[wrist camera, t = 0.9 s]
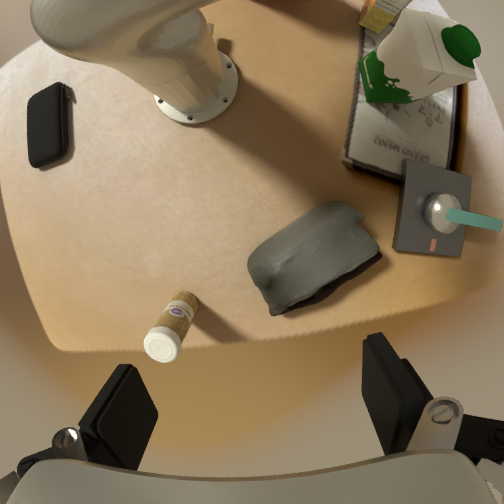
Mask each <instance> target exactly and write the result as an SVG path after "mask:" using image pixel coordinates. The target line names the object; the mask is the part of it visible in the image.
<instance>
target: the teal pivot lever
mask: <svg viewBox="0 0 504 504" xmlns="http://www.w3.org/2000/svg"><path fill="white" fill-rule="evenodd" d="M424 215H425V220H426V222H427V224H428V225H429V227H431V228H432V229H434V230H437V231H439V232H442V233H445V234H448V233H451V232H453V231H454V230H456V228H457V227H458V226H459V224H465V225H470V226H475V227H480V228H485V229H490V230H495V231H499V232H501V228H502V222H503V220H500V219H496V218H493V217H489V216H485V215H480V214H476V213H472V212H468V211H463V210H462V209H461V205H460V203H459V201H458V199H457V198H456V197H455V196H453V195H450V194H444V193H435V194H433V195H432V196H430V197H429V199H428V200H427V202H426V205H425V210H424Z"/></svg>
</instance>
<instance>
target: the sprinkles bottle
mask: <svg viewBox="0 0 504 504" xmlns="http://www.w3.org/2000/svg"><path fill="white" fill-rule="evenodd" d="M198 308H199V305H198V301H197V299H196V298H195V297H194V296H193V295H192V294H190V293H188V292H179V293H177V294H176V295H174V297H173V298H172V301H171V302H170V303H169V304H168V306H167V307H166V309H165V310H164V312H163V313H162V315H161V316H160V318H159V319H158V321H157V323H156V325H155V326H154V328H152V329H151V330H150V331H149V333H148V334H147V336H146V337H145V340H144V348H145V350H146V352H147V354H148V355H149V356H150V357H151V358H153V359H154V360H156V361H159V362H163V363H167V362H171V361H173V360H174V359H175V358H176V357H177V355H178V353H179V351H180V349H181V344H182V342H183V339H184V338H185V336H186V334H187V332H188V330H189V328H190V325H191V323H192V321H193V317H194V315H195V314H196V313H197V311H198Z"/></svg>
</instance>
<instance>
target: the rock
mask: <svg viewBox="0 0 504 504" xmlns="http://www.w3.org/2000/svg"><path fill="white" fill-rule="evenodd" d="M363 218H364V216H363V215H362V214H361V213H359V212H358V211H357V210H355V209H354V208H353V207H352V206H350V205H349V204H347V203H344V202H340V201H335V202H329V203H326V204H323V205H320V206H318V207H316V208H314V209H312V210H310V211H309V212H307V213H305V214H304V215H302V216H301V217H299V218H298V219H296V220H295V221H293V222H292V223H291V224H289V225H288V226H286V227H285V228H283V229H282V230H280V231H279V232H277V233H276V234H275V235H273V236H272V237H270V238H269V239H267V240H266V241H265V242H263V243H262V244H261V245H260V246H258V247H257V248H256V249H255V250H254V252H253V253H252V254H251V255H250V256H249V258H248V263H247V266H248V271H249V274H250V276H251V278H252V280H253V282H254V284H255V285H256V286H257V287H258V288H259V290H260V291H261V293H262V295H263V297H264V299H265V301H266V303H267V304H268V306H269V312H270V315H271V316H277V315H281V314H285V313H287V312H289V311H292V310H295V309H298V308H302V307H305V306H308V305H313V304H316V303H319V302H321V301H322V300H324V299H325V298H327V297H328V296H329V295H330V294H331V293H333V292H334V291H335V290H336V289H337V288H338V287H339V286H341V285H342V284H343V283H345V282H346V281H348V280H351V279H353V278H355V277H356V276H358V275H359V274H361V273H362V272H364V271H365V270H366V269H368V268H369V267H370V266H372V265H373V264H375V263H376V262H377V261H379V260H380V259H381V258H382V254H381V253H380V252H379V248H380V247H379V245H378V243H377V242H376V241H375V240H374V239H373V238H371V237H370V236H369V235H368V233H367V232H366V230H365V229H364V228H363V227H362V226H361V225H360V223H359V222H358V221H359V220H361V219H363Z"/></svg>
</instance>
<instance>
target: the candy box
mask: <svg viewBox="0 0 504 504" xmlns="http://www.w3.org/2000/svg"><path fill="white" fill-rule="evenodd" d="M411 1H412V0H364V2H363V6H362V10H361V15H360V19H359V23H358V25H361V26H363V27H365V28H368V29H370V30H372V31H374V32H376V33H378V34H380V32H381V31H382V30H383V29H384V28H385V27H386V26H387V25H388V24H389V23H390V22H391V21H392V20H393V19H394V18H395V17H396V16H397V15H398V14H399V13H400V12H401V11H402V10H403V8H405V7H406V6H407V5H408V4H409V3H410V2H411Z"/></svg>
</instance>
